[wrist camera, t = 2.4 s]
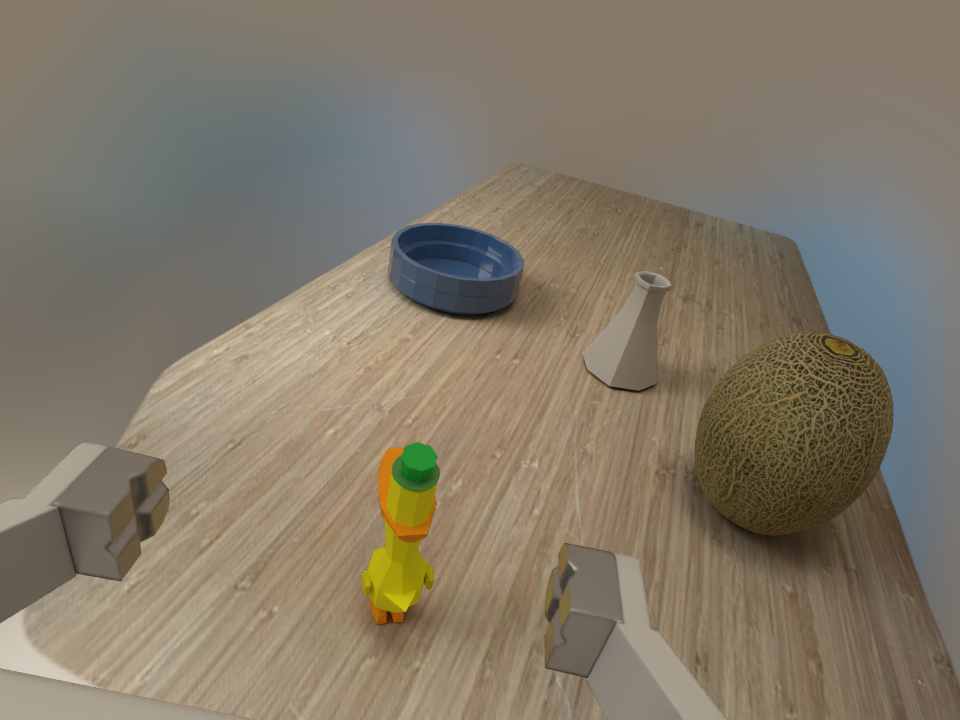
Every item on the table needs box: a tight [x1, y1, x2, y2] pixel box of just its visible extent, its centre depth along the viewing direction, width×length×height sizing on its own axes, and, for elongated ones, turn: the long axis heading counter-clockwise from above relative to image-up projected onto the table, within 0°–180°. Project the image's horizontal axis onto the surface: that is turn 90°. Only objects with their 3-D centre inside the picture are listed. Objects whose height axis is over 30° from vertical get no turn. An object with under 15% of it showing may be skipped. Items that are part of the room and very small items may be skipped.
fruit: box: [695, 332, 893, 536], centre depth 41 cm, size 11×11×15 cm
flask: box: [582, 271, 672, 391], centre depth 56 cm, size 7×7×10 cm
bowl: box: [388, 223, 524, 315], centre depth 66 cm, size 14×14×4 cm
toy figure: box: [362, 443, 440, 625], centre depth 30 cm, size 7×4×12 cm, turn 14°
